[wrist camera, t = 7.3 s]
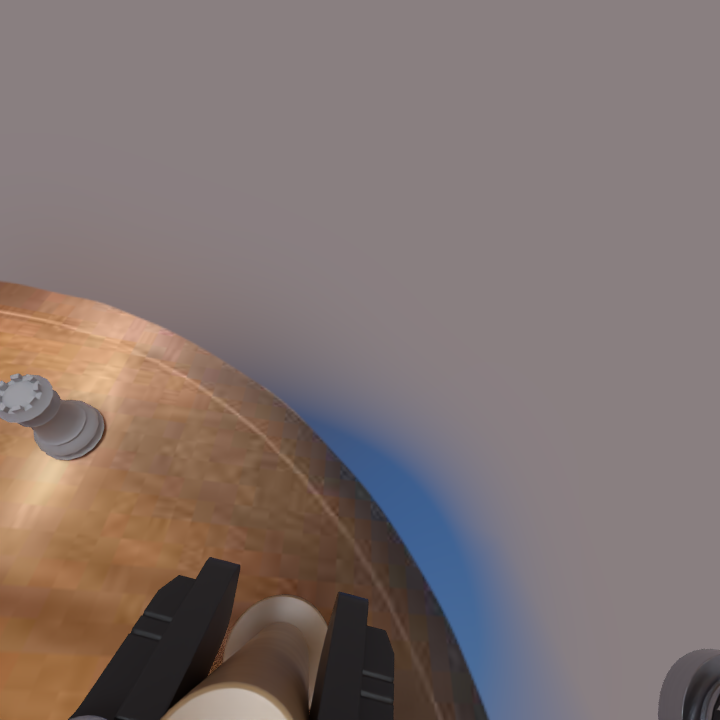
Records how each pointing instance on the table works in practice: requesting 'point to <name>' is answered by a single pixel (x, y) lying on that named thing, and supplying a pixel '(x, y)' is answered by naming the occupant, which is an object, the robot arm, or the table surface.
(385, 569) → the table surface
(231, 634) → the stirring stick
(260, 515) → the table surface
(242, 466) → the table surface
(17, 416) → the rook chess piece
